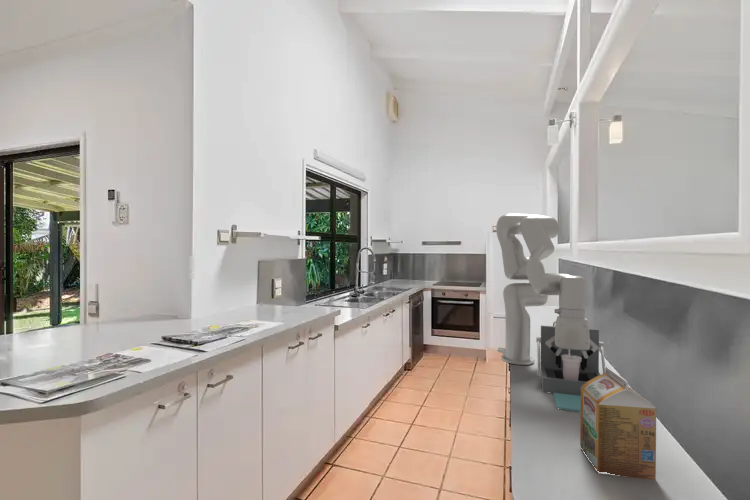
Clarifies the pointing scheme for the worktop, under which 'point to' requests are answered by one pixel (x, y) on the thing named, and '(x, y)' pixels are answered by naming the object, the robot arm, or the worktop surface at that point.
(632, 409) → the milk carton
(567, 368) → the smoothie
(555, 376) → the case
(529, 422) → the worktop surface
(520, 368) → the worktop surface
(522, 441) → the worktop surface
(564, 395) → the mat
